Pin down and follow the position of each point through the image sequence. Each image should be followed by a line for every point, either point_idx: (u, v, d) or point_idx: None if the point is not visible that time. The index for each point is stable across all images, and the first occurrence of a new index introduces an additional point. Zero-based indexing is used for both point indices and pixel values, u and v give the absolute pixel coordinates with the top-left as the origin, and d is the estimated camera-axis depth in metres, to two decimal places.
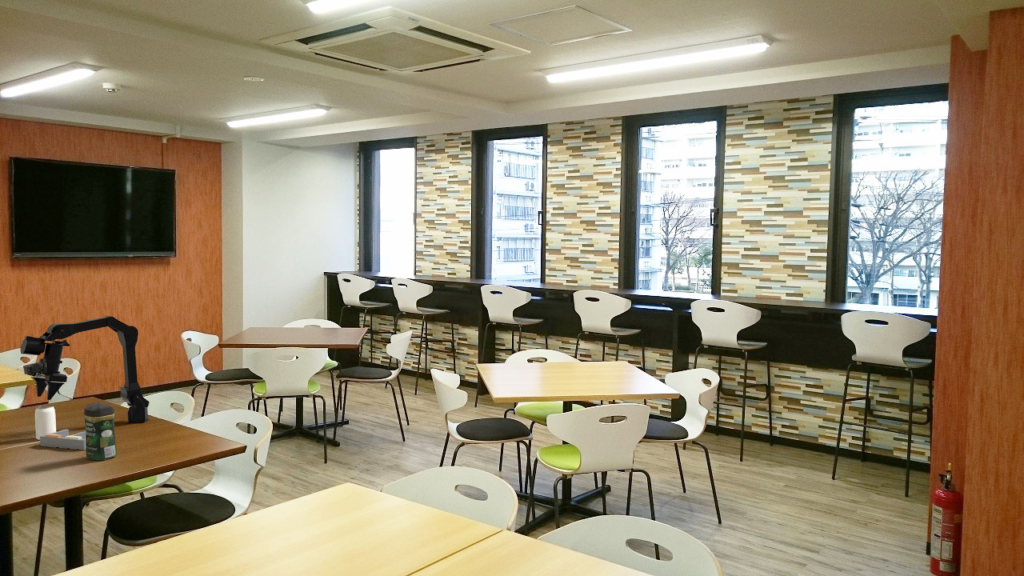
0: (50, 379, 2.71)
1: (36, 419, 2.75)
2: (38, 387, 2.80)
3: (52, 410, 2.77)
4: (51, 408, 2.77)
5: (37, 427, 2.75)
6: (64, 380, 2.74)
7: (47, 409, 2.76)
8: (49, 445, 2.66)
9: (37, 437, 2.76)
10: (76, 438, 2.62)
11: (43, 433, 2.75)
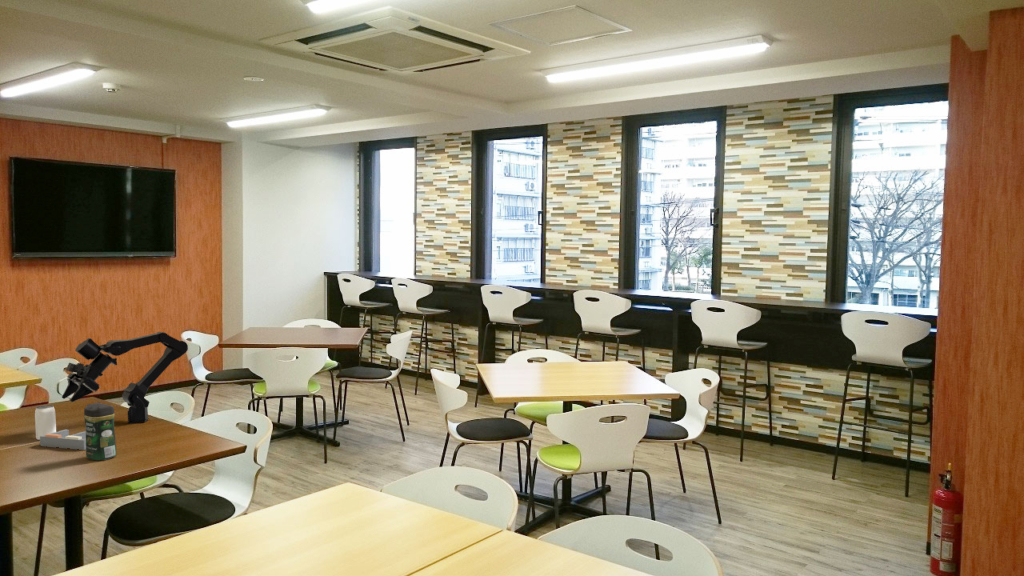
0: (85, 381, 2.79)
1: (36, 419, 2.75)
2: (67, 389, 2.88)
3: (52, 410, 2.77)
4: (51, 408, 2.77)
5: (37, 427, 2.75)
6: (95, 389, 2.82)
7: (47, 409, 2.76)
8: (49, 445, 2.66)
9: (37, 437, 2.76)
10: (76, 438, 2.62)
11: (43, 433, 2.75)
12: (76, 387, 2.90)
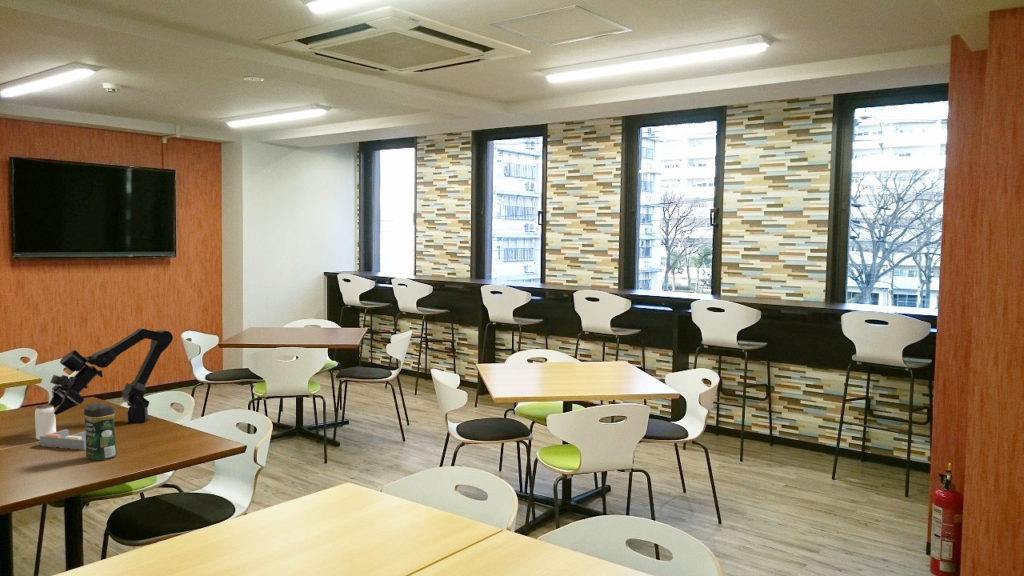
0: (69, 394, 2.76)
1: (36, 419, 2.75)
2: (52, 402, 2.84)
3: (52, 410, 2.77)
4: (51, 408, 2.77)
5: (37, 427, 2.75)
6: (79, 401, 2.78)
7: (47, 409, 2.76)
8: (49, 445, 2.66)
9: (37, 437, 2.76)
10: (76, 438, 2.62)
11: (43, 433, 2.75)
12: (61, 399, 2.86)
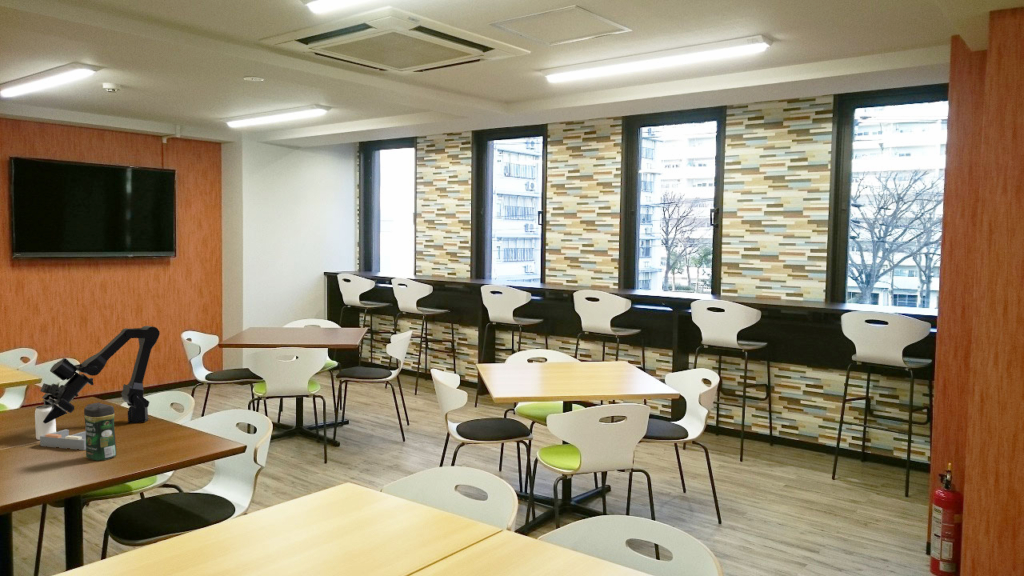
0: (59, 403, 2.73)
1: (36, 419, 2.75)
2: None
3: None
4: (51, 408, 2.77)
5: (37, 427, 2.75)
6: (70, 410, 2.76)
7: (47, 409, 2.76)
8: (49, 445, 2.66)
9: (37, 437, 2.76)
10: (76, 438, 2.62)
11: (43, 433, 2.75)
12: None
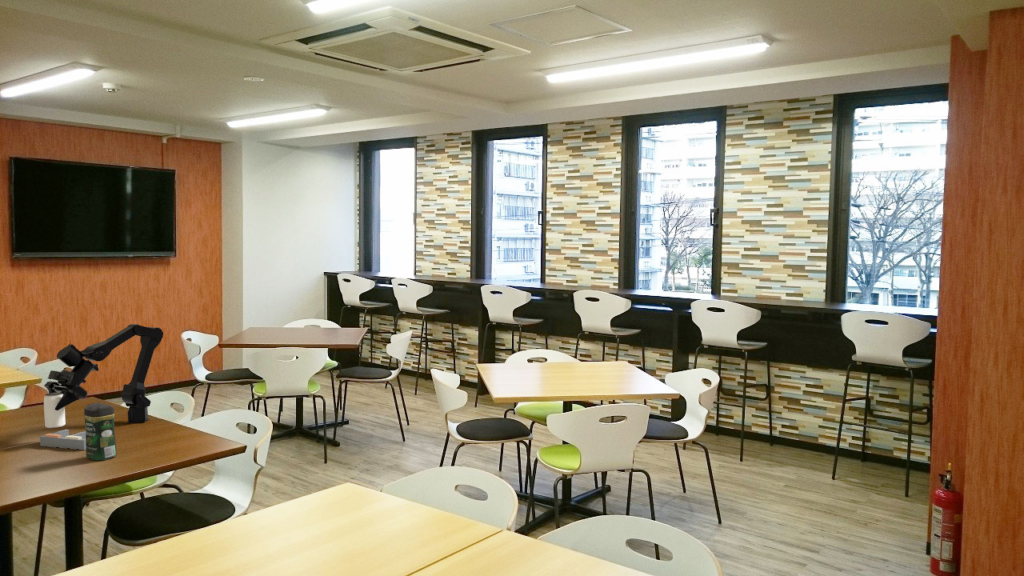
0: (74, 388, 2.70)
1: (46, 407, 2.70)
2: None
3: None
4: (61, 395, 2.73)
5: (48, 415, 2.70)
6: (84, 396, 2.73)
7: (58, 396, 2.72)
8: (49, 445, 2.66)
9: (47, 425, 2.71)
10: (76, 438, 2.62)
11: (55, 421, 2.71)
12: None
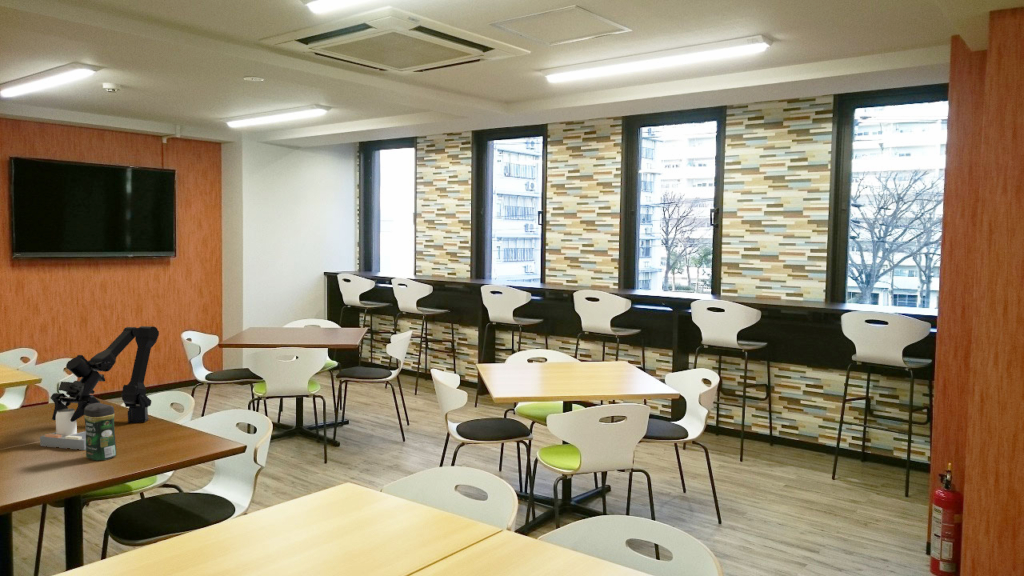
0: (89, 399, 2.70)
1: (60, 423, 2.68)
2: None
3: None
4: (74, 411, 2.72)
5: (61, 431, 2.68)
6: None
7: (71, 412, 2.70)
8: (49, 445, 2.66)
9: None
10: (76, 438, 2.62)
11: None
12: (64, 407, 2.76)
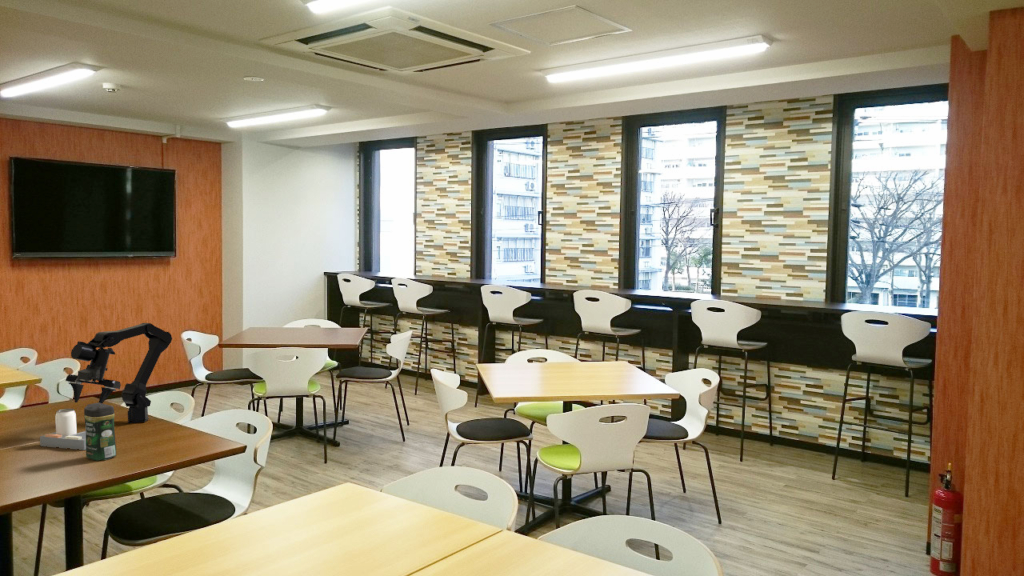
0: (112, 385, 2.82)
1: (59, 423, 2.68)
2: (77, 393, 2.84)
3: (74, 413, 2.72)
4: (73, 411, 2.71)
5: (61, 432, 2.68)
6: (119, 387, 2.87)
7: (71, 412, 2.70)
8: (49, 445, 2.66)
9: None
10: (76, 438, 2.62)
11: None
12: (80, 387, 2.86)
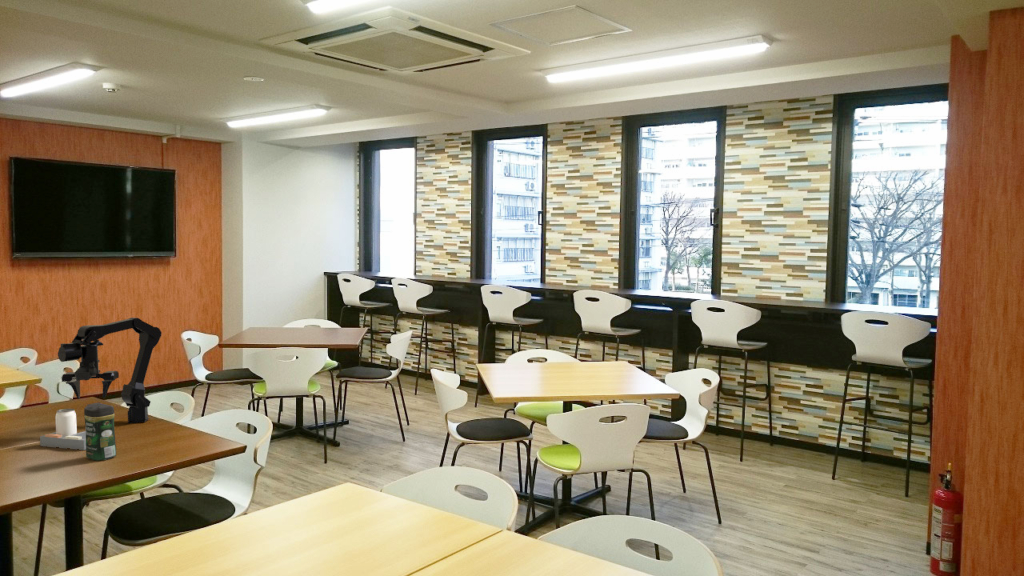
0: (112, 378, 2.85)
1: (59, 423, 2.68)
2: (77, 390, 2.85)
3: (75, 413, 2.72)
4: (74, 411, 2.71)
5: (61, 431, 2.68)
6: (118, 376, 2.90)
7: (71, 412, 2.70)
8: (49, 445, 2.66)
9: None
10: (76, 438, 2.62)
11: None
12: (78, 383, 2.87)
